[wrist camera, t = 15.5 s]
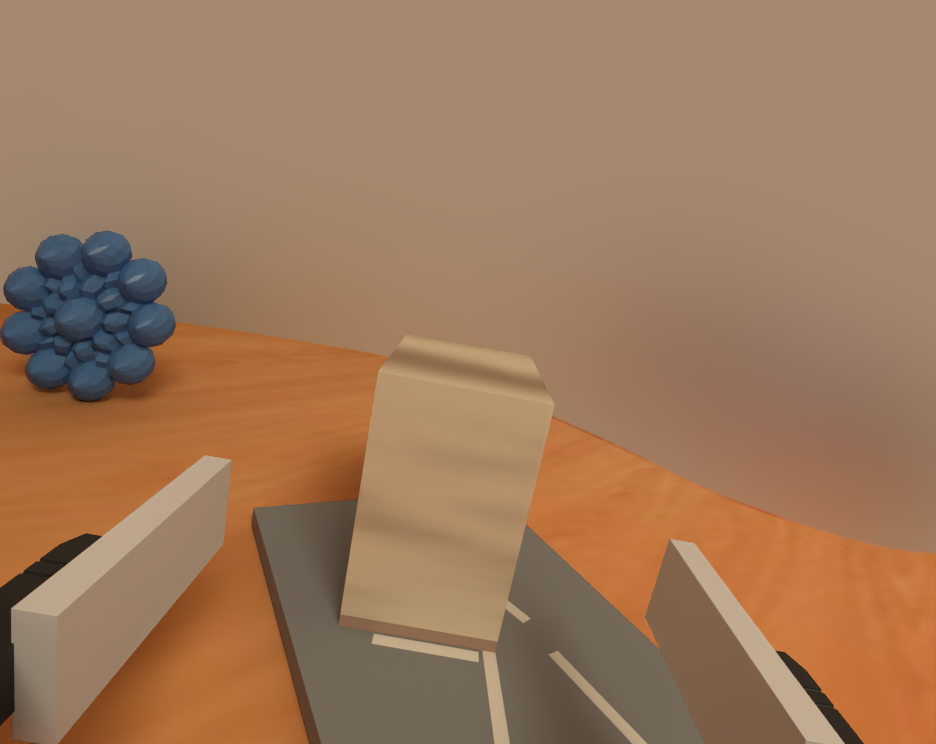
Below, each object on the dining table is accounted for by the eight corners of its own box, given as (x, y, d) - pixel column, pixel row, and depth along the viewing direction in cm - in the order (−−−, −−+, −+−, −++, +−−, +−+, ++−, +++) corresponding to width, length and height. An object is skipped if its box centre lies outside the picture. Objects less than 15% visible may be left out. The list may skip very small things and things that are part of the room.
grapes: (200, 399, 42) (212, 245, 39) (146, 427, 35) (156, 244, 32) (54, 370, 42) (56, 213, 39) (-28, 393, 35) (-33, 206, 32)
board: (251, 525, 27) (253, 507, 26) (485, 503, 34) (488, 488, 34) (446, 1259, 8) (459, 1224, 8) (861, 874, 16) (873, 849, 15)
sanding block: (376, 518, 28) (408, 332, 25) (489, 538, 28) (530, 356, 26) (338, 625, 20) (378, 371, 18) (495, 652, 20) (554, 405, 18)
